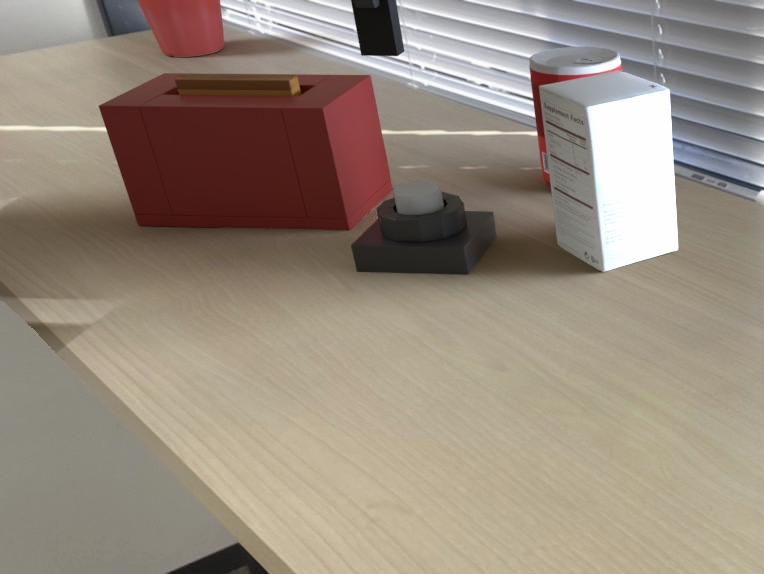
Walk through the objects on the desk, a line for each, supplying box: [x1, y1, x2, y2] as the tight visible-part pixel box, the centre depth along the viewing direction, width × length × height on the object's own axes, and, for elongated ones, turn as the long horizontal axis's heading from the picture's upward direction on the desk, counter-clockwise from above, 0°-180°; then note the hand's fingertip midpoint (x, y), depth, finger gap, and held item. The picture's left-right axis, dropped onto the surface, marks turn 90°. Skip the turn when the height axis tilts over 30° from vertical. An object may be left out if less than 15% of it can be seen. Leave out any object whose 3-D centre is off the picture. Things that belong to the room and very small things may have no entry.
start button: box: [392, 180, 444, 215], centre depth 90 cm, size 4×4×2 cm
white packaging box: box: [539, 70, 679, 273], centre depth 89 cm, size 7×7×13 cm
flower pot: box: [137, 0, 225, 58], centre depth 150 cm, size 11×11×10 cm
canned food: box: [528, 46, 623, 190], centre depth 103 cm, size 8×8×11 cm
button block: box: [350, 191, 498, 276], centre depth 92 cm, size 9×8×4 cm
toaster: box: [98, 72, 394, 231], centre depth 100 cm, size 19×10×10 cm, turn 84°
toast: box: [175, 73, 301, 97], centre depth 99 cm, size 10×2×10 cm, turn 84°
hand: (382, 53), depth 84 cm, fingers closed
